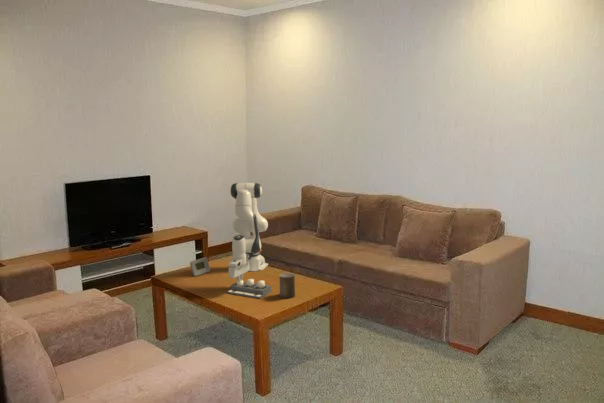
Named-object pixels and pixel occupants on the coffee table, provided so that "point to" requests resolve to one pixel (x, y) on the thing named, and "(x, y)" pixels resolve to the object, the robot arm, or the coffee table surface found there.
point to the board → (249, 290)
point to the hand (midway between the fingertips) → (239, 281)
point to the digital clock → (200, 266)
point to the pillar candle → (287, 285)
